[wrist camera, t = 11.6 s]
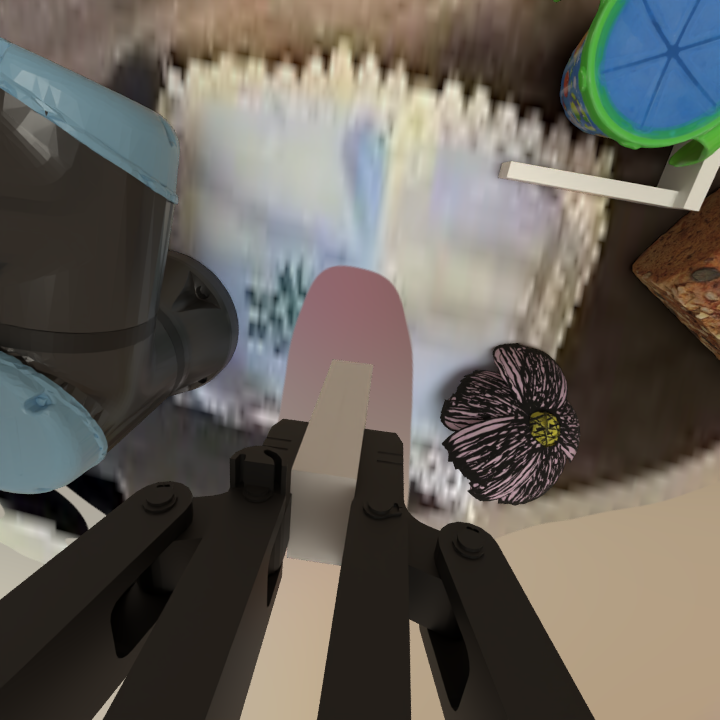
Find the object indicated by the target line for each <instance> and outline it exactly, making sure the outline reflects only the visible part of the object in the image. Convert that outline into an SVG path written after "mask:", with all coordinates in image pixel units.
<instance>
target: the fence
mask: <svg viewBox="0 0 720 720" xmlns="http://www.w3.org/2000/svg"><path fill="white" fill-rule="evenodd" d="M691 140H693V139H690V140H687V141H685V142H682V143H678V144H674V146H673V149H672V151H671V154H670V156H669V158H668V161H667V163H666V166H665V168H664V171H663V173H662V175H661V178H660V180H659V183H658V185H657V188H656V187H651V186H645V185H640V184H634V183H629V182H623V181H618V180H612V179H607V178H601V177H596V176H590V175H585V174H579V173H574V172H568V171H562V170H557V169H551V168H546V167H540V166H535V165H529V164H524V163H518V162H513V161H510V162H505V163H502V166H501V169H500V173H499V177H498V178H502V179H508V180H513V181H519V182H524V183H530V184H535V185H541V186H546V187H552V188H557V189H563V190H568V191H574V192H579V193H585V194H590V195H596V196H601V197H607V198H612V199H618V200H623V201H629V202H634V203H640V204H645V205H651V206H656V207H662V208H671V209H681V210H691V211H699V210H700V207H701V205H702V203H703V201H704V199H705V197H706V194H707V192H708V190H709V188H710V186H711V183H712V181H713V179H714V177H715V175H716V172H717V170H718V168H719V166H720V148H719V149H718V150H716V151H715V152H714V153H713V154H712V155H711V156H709V157H708V158H707V159H705V160H703V161H701V162H699V163H696V164H692V165H688V166H683V167H674V166H673V165H670V164H669V163H668V162H669V159H670V158H671V157H672V155H673V154H674V153H676V152H677V151H678V150H679V149H680V148H682V147H683V146H684V145H686V144H687V143H689V142H690V141H691Z"/></svg>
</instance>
